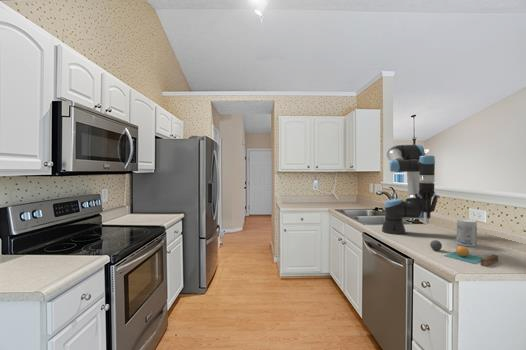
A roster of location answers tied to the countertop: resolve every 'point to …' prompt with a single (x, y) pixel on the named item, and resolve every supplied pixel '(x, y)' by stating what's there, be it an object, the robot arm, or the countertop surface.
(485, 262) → the wall
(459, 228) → the supplement tub
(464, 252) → the object ball
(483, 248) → the countertop surface
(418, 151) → the robot arm
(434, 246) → the gray ball
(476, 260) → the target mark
